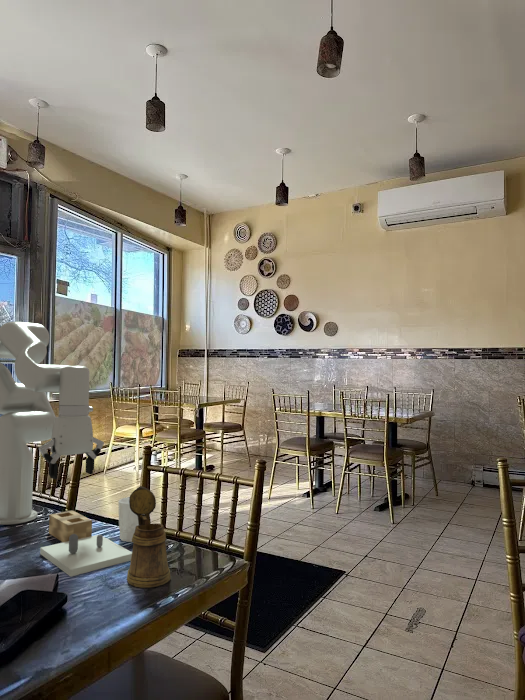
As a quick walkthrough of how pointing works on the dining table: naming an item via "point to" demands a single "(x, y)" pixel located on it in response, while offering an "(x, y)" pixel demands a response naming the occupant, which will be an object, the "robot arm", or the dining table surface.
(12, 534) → the dining table surface
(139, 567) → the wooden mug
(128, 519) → the white cup
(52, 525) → the tan hollow block
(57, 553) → the post board
